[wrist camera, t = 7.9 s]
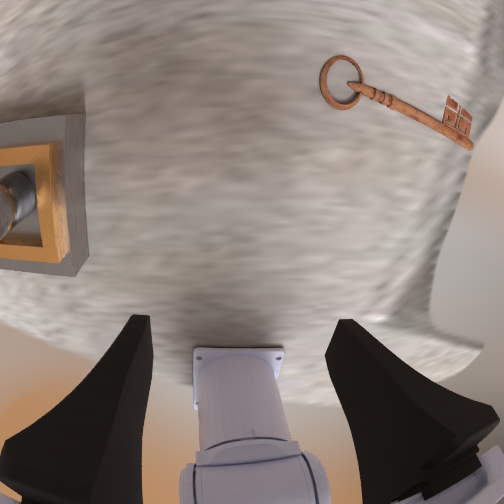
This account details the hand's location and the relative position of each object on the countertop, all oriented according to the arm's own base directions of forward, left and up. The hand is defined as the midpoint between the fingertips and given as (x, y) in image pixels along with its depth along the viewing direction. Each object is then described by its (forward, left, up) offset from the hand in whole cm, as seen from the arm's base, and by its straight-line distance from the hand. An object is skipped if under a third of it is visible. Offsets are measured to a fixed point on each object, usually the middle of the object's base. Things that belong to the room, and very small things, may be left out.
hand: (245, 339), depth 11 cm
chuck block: (+2, +14, -10) cm, 18 cm away
